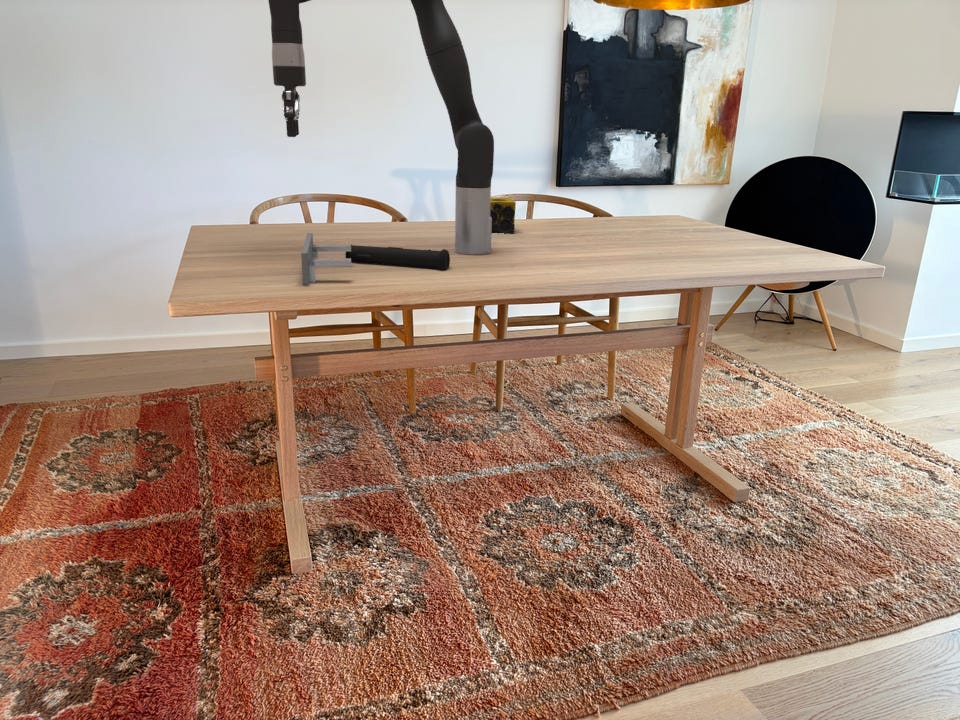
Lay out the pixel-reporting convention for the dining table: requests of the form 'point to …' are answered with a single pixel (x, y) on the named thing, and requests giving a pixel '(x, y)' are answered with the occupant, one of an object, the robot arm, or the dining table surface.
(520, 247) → the dining table surface
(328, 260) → the grey u-shaped bracket
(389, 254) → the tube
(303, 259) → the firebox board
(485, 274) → the dining table surface
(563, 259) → the dining table surface
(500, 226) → the black and yellow cube
